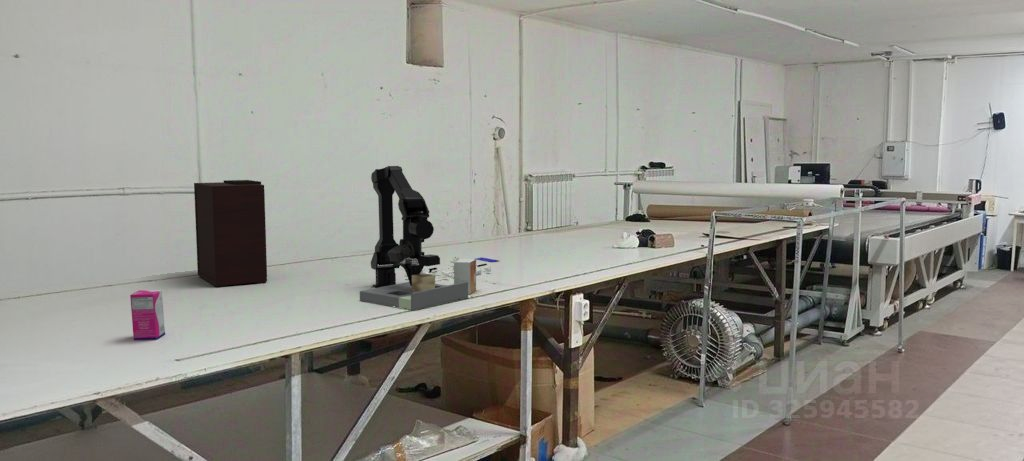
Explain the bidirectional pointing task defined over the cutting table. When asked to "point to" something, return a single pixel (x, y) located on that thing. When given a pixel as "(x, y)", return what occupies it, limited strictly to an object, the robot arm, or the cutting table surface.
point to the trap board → (414, 295)
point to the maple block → (422, 282)
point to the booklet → (486, 259)
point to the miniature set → (453, 269)
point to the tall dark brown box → (231, 232)
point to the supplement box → (147, 314)
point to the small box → (466, 273)
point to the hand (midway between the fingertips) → (412, 285)
